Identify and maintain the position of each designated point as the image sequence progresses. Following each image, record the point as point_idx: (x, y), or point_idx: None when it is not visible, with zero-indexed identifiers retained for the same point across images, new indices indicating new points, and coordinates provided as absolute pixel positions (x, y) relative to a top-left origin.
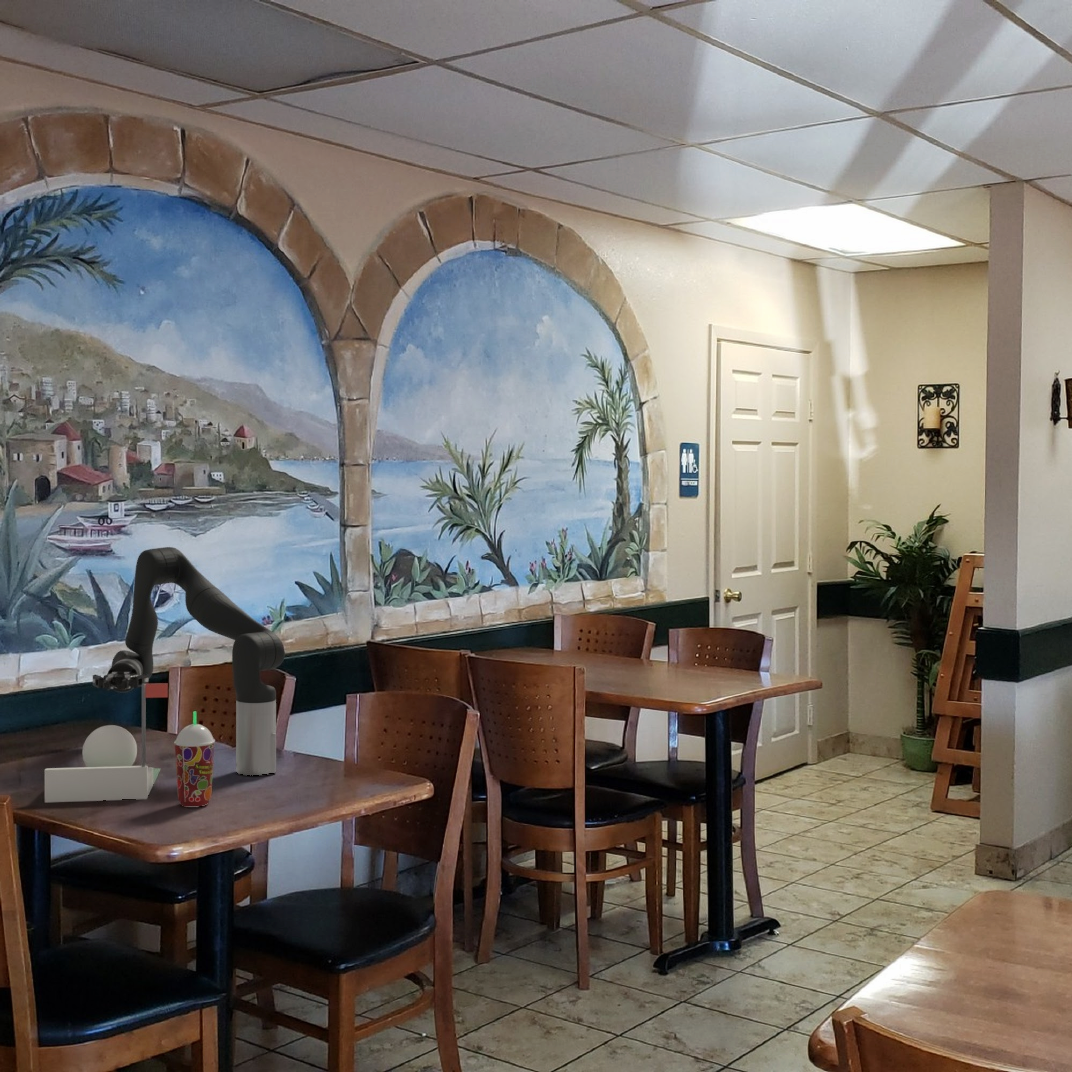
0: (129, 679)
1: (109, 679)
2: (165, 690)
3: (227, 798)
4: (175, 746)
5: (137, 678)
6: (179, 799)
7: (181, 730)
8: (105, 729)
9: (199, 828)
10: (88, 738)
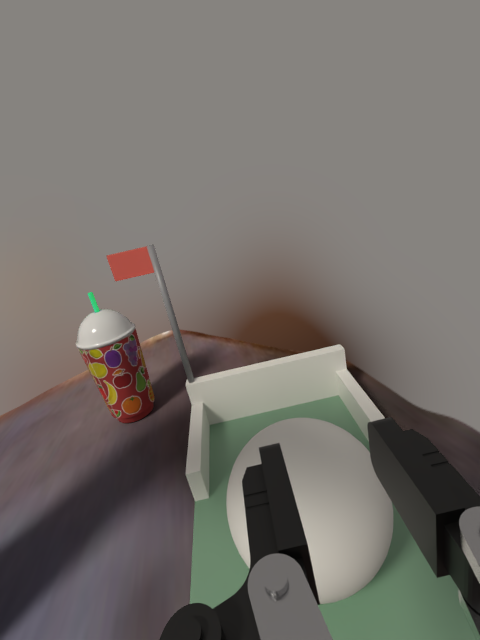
0: (256, 574)
1: (425, 482)
2: (115, 267)
3: (85, 442)
4: (135, 330)
5: (173, 625)
6: (153, 393)
7: (119, 314)
8: (296, 420)
9: (144, 360)
10: (348, 432)
